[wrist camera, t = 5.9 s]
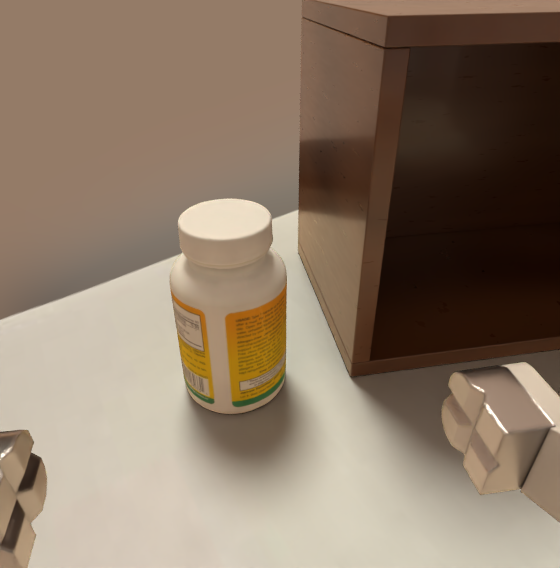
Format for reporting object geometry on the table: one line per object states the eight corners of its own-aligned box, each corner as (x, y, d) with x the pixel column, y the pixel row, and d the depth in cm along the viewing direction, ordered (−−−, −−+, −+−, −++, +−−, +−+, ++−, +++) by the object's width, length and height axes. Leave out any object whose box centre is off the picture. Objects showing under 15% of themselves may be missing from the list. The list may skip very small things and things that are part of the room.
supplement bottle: (172, 411, 23) (138, 242, 18) (202, 341, 28) (182, 189, 23) (278, 424, 23) (276, 252, 17) (292, 350, 27) (293, 195, 22)
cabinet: (743, 325, 29) (965, 2, 19) (350, 377, 25) (388, 15, 16) (583, 224, 40) (674, -9, 31) (297, 250, 37) (301, -3, 27)
